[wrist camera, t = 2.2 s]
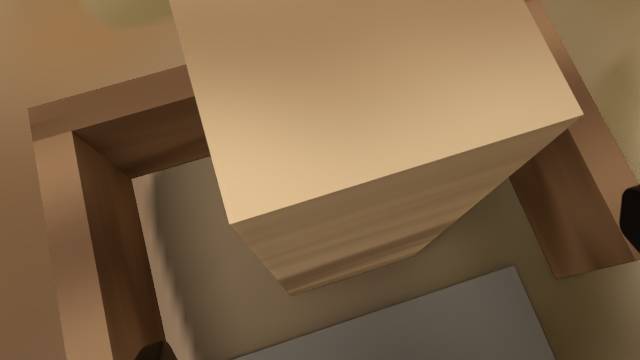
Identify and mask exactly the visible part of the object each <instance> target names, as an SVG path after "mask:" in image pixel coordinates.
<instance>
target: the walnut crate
mask: <svg viewBox="0 0 640 360" xmlns="http://www.w3.org/2000/svg"><path fill="white" fill-rule="evenodd" d="M524 2H525V4H526V6H527V7H528V9H529V11H530V13H531V15H532V17H533V19H534V21H535V23H536V25H537V26H538V28H539V30H540V32H541V34H542V36H543V38H544V40H545V42H546V43H547V45H548V47H549V49H550V51H551V53H552V55H553V57H554V59H555V61H556V62H557V64H558V66H559V68H560V70H561V72H562V74H563V76H564V78H565V79H566V81H567V83H568V85H569V87H570V89H571V91H572V93H573V95H574V96H575V98H576V100H577V102H578V104H579V106H580V108H581V110H582V112H583V114H584V115H583V116H582V117H580V118H579V119H578V120H577V121H576V122H574V123H573V124H572V125H571V126H570V127H568V128H567V129H566V130H565V131H563V132H562V133H561V134H560V135H559V136H557V137H556V138H555V139H554V140H553V141H551V142H550V143H549V144H548V145H547V146H545V147H544V148H543V149H542V150H541V151H539V152H538V153H537V154H536V155H535V156H533V157H532V158H531V159H530V160H529V161H527V162H526V163H525V164H524V165H523V166H521V167H520V168H519V169H518V170H517V171H515V172H514V173H513V174H512V175H510V176H509V178H510V180H511V182H512V184H513V187H514V189H515V191H516V193H517V195H518V197H519V200H520V202H521V204H522V206H523V208H524V211H525V213H526V215H527V217H528V219H529V221H530V224H531V226H532V228H533V230H534V232H535V235H536V237H537V239H538V241H539V243H540V245H541V248H542V250H543V252H544V254H545V256H546V259H547V261H548V263H549V265H550V267H551V269H552V272H553V274H554V276H555V278H556V279H558V278H562V277H567V276H571V275H576V274H580V273H585V272H589V271H593V270H598V269H602V268H607V267H611V266H616V265H620V264H624V263H629V262H633V261H637V260H640V253H639V252H638V251H637V250H636V249H635V248H634V247H633V246H632V244H631V243H630V242H629V241H628V240H627V239H626V238H625V236H624V235H623V233H622V232H621V229H620V225H619V219H620V209H621V199H622V194H623V192H624V191H625V190H626V189H627V188H630V187H633V186H636V185H639V184H638V182H637V180H636V179H635V177H634V175H633V173H632V171H631V169H630V167H629V166H628V164H627V162H626V160H625V158H624V156H623V155H622V153H621V151H620V149H619V147H618V145H617V143H616V142H615V140H614V138H613V136H612V134H611V132H610V130H609V129H608V127H607V125H606V123H605V121H604V119H603V117H602V116H601V114H600V112H599V110H598V108H597V106H596V104H595V103H594V101H593V99H592V97H591V95H590V93H589V91H588V90H587V88H586V86H585V84H584V82H583V80H582V78H581V77H580V75H579V73H578V71H577V69H576V67H575V65H574V64H573V62H572V60H571V58H570V56H569V54H568V52H567V51H566V49H565V47H564V45H563V43H562V41H561V40H560V38H559V36H558V34H557V32H556V30H555V28H554V27H553V25H552V23H551V21H550V19H549V17H548V15H547V14H546V12H545V10H544V8H543V6H542V4H541V2H540V1H539V0H524ZM28 112H29V119H30V126H31V132H32V139H33V145H34V151H35V158H36V165H37V171H38V177H39V184H40V190H41V197H42V203H43V210H44V216H45V223H46V229H47V235H48V242H49V248H50V254H51V261H52V268H53V274H54V280H55V286H56V293H57V300H58V306H59V313H60V319H61V326H62V332H63V339H64V345H65V352H66V358H67V360H134V359H135V357H136V356H137V354H138V353H139V351H140V350H141V349H142V348H143V347H144V346H146V345H150V344H153V343H156V342H159V341H162V340H163V341H166V339H165V335H164V330H163V325H162V320H161V316H160V311H159V307H158V302H157V297H156V293H155V288H154V283H153V278H152V274H151V269H150V264H149V260H148V255H147V251H146V246H145V241H144V236H143V232H142V227H141V222H140V218H139V213H138V209H137V204H136V199H135V195H134V190H133V185H132V180H131V179H133V178H136V177H139V176H143V175H146V174H150V173H153V172H156V171H160V170H163V169H167V168H170V167H173V166H177V165H180V164H183V163H187V162H190V161H194V160H197V159H200V158H204V157H207V156H210V155H211V154H210V151H209V147H208V143H207V140H206V136H205V132H204V129H203V125H202V121H201V117H200V114H199V110H198V106H197V103H196V99H195V95H194V91H193V88H192V84H191V80H190V77H189V73H188V69H187V65H183V66H179V67H176V68H172V69H168V70H165V71H161V72H158V73H154V74H150V75H147V76H143V77H140V78H136V79H132V80H129V81H125V82H122V83H118V84H114V85H111V86H107V87H104V88H100V89H96V90H93V91H89V92H85V93H82V94H78V95H75V96H71V97H67V98H64V99H60V100H57V101H53V102H49V103H46V104H42V105H39V106H35V107H32V108H28Z"/></svg>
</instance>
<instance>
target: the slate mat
mask: <svg viewBox="0 0 640 360" xmlns="http://www.w3.org/2000/svg"><path fill="white" fill-rule="evenodd" d="M233 360H555V357H554V355H553V353H552V351H551V348H550V346H549V344H548V341H547V339H546V337H545V334H544V332H543V330H542V328H541V325H540V323H539V321H538V318H537V316H536V314H535V312H534V309H533V307H532V305H531V302H530V300H529V298H528V296H527V293H526V291H525V289H524V286H523V284H522V282H521V280H520V277H519V275H518V273H517V270H516V268H515V266H514V265H513V266H510V267H507V268H504V269H501V270H498V271H495V272H492V273H489V274H486V275H483V276H480V277H477V278H474V279H471V280H468V281H465V282H462V283H459V284H456V285H453V286H450V287H447V288H445V289H442V290H439V291H436V292H433V293H430V294H427V295H424V296H421V297H418V298H415V299H412V300H409V301H406V302H403V303H400V304H397V305H394V306H391V307H388V308H385V309H382V310H379V311H376V312H373V313H370V314H367V315H364V316H361V317H358V318H355V319H352V320H349V321H346V322H343V323H340V324H337V325H334V326H331V327H328V328H325V329H322V330H319V331H316V332H313V333H310V334H307V335H304V336H301V337H298V338H295V339H292V340H289V341H286V342H283V343H280V344H278V345H275V346H272V347H269V348H266V349H263V350H260V351H257V352H254V353H251V354H248V355H245V356H242V357H239V358H236V359H233Z"/></svg>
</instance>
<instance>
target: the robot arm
mask: <svg viewBox="0 0 640 360" xmlns="http://www.w3.org/2000/svg"><path fill="white" fill-rule="evenodd" d="M619 225H620V229H621V232H622V233H623V235H624V236H625V238H626V239H627V240H628V241H629V242H630V243H631V244H632V246H633V247H634V248H635V249H636V250H637V251H638V252H639V253H640V184H639V185H636V186H633V187H630V188H627V189H626V190H625V191H624V192H623V194H622V199H621V209H620V219H619ZM134 360H177V358H176V356H175V354H174V352H173V350H172V348H171V347H170V345H169V344H168V343H167V342H166V341H163V340H162V341H159V342H156V343H153V344H150V345H146V346H144V347H143V348H142V349H141V350H140V351H139V353H138V354H137V356H136V357H135V359H134Z"/></svg>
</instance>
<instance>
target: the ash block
mask: <svg viewBox="0 0 640 360" xmlns="http://www.w3.org/2000/svg"><path fill="white" fill-rule="evenodd" d="M169 2H170V6H171V10H172V14H173V17H174V21H175V25H176V28H177V32H178V36H179V39H180V43H181V47H182V50H183V54H184V58H185V62H186V65H187V69H188V73H189V77H190V80H191V84H192V88H193V91H194V95H195V99H196V103H197V106H198V110H199V114H200V117H201V121H202V125H203V129H204V132H205V136H206V140H207V143H208V147H209V151H210V154H211V158H212V162H213V166H214V169H215V173H216V177H217V180H218V184H219V188H220V192H221V195H222V199H223V203H224V206H225V210H226V214H227V217H228V221H229V225H230V226H231V227H232V228H233V229H234V230H235V232H236V233H237V234H238V235H239V236H240V237H241V239H242V240H243V241H244V242H245V243H246V244H247V246H248V247H249V248H250V249H251V250H252V251H253V253H254V254H255V255H256V256H257V257H258V258H259V259H260V261H261V262H262V263H263V264H264V265H265V266H266V268H267V269H268V270H269V271H270V272H271V273H272V275H273V276H274V277H275V278H276V279H277V280H278V282H279V283H280V284H281V285H282V286H283V287H284V289H285V290H286V291H287V292H288V293H289V294H290V296H293V295H296V294H299V293H302V292H305V291H308V290H311V289H314V288H318V287H321V286H324V285H327V284H330V283H333V282H336V281H339V280H342V279H345V278H348V277H351V276H354V275H357V274H360V273H363V272H366V271H369V270H373V269H376V268H379V267H382V266H385V265H388V264H391V263H394V262H397V261H400V260H403V259H406V258H409V257H412V256H414V255H415V254H417V253H418V252H419V251H420V250H421V249H423V248H424V247H425V246H426V245H427V244H429V243H430V242H431V241H432V240H433V239H435V238H436V237H437V236H438V235H439V234H441V233H442V232H443V231H444V230H445V229H447V228H448V227H449V226H450V225H451V224H453V223H454V222H455V221H456V220H457V219H459V218H460V217H461V216H462V215H464V214H465V213H466V212H467V211H468V210H470V209H471V208H472V207H473V206H474V205H476V204H477V203H478V202H479V201H480V200H482V199H483V198H484V197H485V196H486V195H488V194H489V193H490V192H491V191H492V190H494V189H495V188H496V187H497V186H498V185H500V184H501V183H502V182H503V181H504V180H506V179H507V178H508V177H509V176H510V175H512V174H513V173H514V172H515V171H517V170H518V169H519V168H520V167H521V166H523V165H524V164H525V163H526V162H527V161H529V160H530V159H531V158H532V157H533V156H535V155H536V154H537V153H538V152H539V151H541V150H542V149H543V148H544V147H545V146H547V145H548V144H549V143H550V142H551V141H553V140H554V139H555V138H556V137H557V136H559V135H560V134H561V133H562V132H563V131H565V130H566V129H567V128H568V127H570V126H571V125H572V124H573V123H574V122H576V121H577V120H578V119H579V118H580V117H582V116H583V115H584V114H583V112H582V110H581V108H580V106H579V104H578V102H577V100H576V98H575V96H574V95H573V93H572V91H571V89H570V87H569V85H568V83H567V81H566V79H565V78H564V76H563V74H562V72H561V70H560V68H559V66H558V64H557V62H556V61H555V59H554V57H553V55H552V53H551V51H550V49H549V47H548V45H547V43H546V42H545V40H544V38H543V36H542V34H541V32H540V30H539V28H538V26H537V25H536V23H535V21H534V19H533V17H532V15H531V13H530V11H529V9H528V7H527V6H526V4H525V2H524V0H169Z"/></svg>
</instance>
